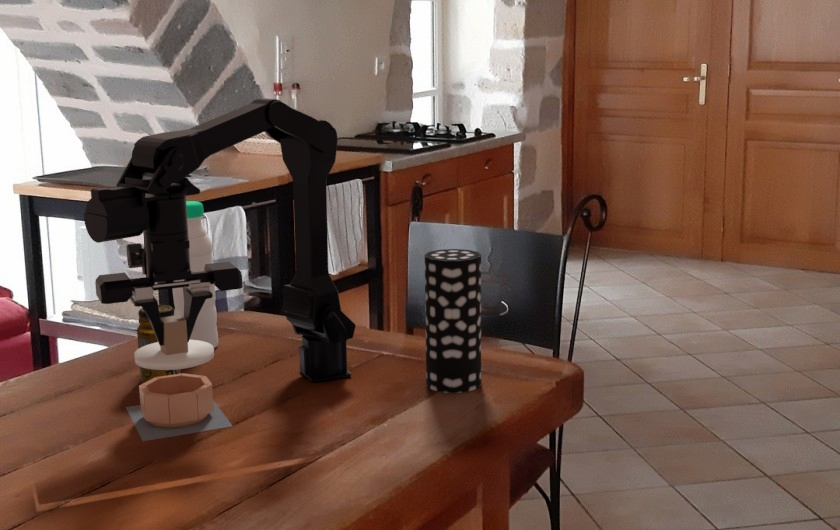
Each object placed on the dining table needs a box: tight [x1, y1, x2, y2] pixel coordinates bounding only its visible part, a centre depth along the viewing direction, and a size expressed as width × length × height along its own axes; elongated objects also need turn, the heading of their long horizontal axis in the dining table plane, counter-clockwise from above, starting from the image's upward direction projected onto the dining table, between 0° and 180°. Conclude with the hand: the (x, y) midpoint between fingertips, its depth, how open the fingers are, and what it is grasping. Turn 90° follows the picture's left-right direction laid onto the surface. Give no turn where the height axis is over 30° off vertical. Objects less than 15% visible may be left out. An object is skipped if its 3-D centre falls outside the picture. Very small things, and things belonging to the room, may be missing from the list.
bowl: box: [138, 372, 214, 428], centre depth 148 cm, size 9×9×5 cm
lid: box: [133, 315, 215, 370], centre depth 146 cm, size 11×11×6 cm
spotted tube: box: [424, 248, 482, 394], centre depth 160 cm, size 8×8×20 cm
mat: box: [125, 400, 234, 442], centre depth 149 cm, size 12×14×1 cm
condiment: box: [136, 304, 181, 384], centre depth 163 cm, size 7×8×12 cm
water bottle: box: [171, 200, 219, 349], centre depth 179 cm, size 7×7×25 cm
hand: (173, 343), depth 146 cm, fingers closed on lid, 3 cm apart
